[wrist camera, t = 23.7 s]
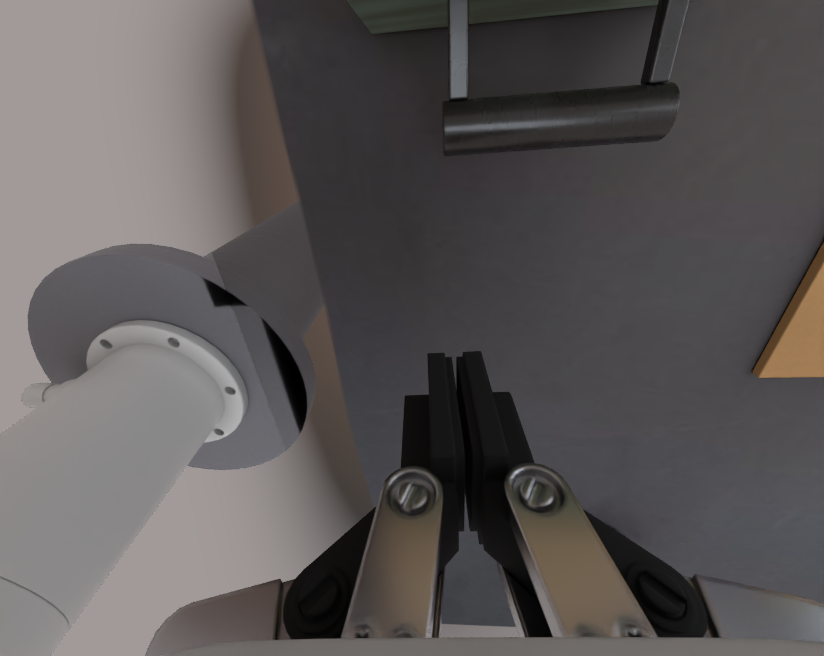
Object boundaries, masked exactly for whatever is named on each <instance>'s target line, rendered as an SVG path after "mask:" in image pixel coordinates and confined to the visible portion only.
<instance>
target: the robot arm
mask: <svg viewBox="0 0 824 656" xmlns="http://www.w3.org/2000/svg"><path fill="white" fill-rule="evenodd" d="M86 363H87V369H88V371H86V372H85V373H84V374H82V375H81V376H80V377H78V378H77V379H70V380H68V381H66V382H64V383H63V384H60V383H37V384H31V385H30V386H28V387H27V388H25V390H24V392H23V393H22V402H23V404H24V405H26V406H28V407H30V408H36V409H34V410H33V411H32V412H30V413H29V414H27V415H26V416H25V417H23V418H22V419H20V420H19V421H18V422H16V423H15V424H13V425H12V426H11V427H9V428H8V429H7V430H5V431H4V432H2V433H1V434H0V656H51V654H52V653H53V651H54V650H55V648H56V647H57V646H58V644H59V643H60V642H61V640H62V639H63V637H64V636H65V635H66V633H67V632H68V630H69V629H70V628H71V627H72V625H73V624H74V622H75V621H76V620H77V618H78V617H79V615H80V614H81V613H82V611H83V610H84V608H85V607H86V606H87V604H88V603H89V601H90V600H91V599H92V597H93V596H94V594H95V593H96V592H97V590H98V589H99V588H100V586H101V585H102V583H103V582H104V580H105V579H106V578H107V576H108V575H109V574H110V572H111V571H112V570H113V568H114V567H115V565H116V564H117V563H118V561H119V559H120V558H121V557H122V556H123V554H124V553H125V551H126V550H127V549H128V547H129V546H130V544H131V543H132V541H133V540H134V539H135V537H136V536H137V535H138V533H139V532H140V531H141V529H142V528H143V526H144V525H145V524H146V522H147V521H148V519H149V518H150V517H151V515H152V514H153V512H154V511H155V510H156V508H157V507H158V506H159V504H160V503H161V501H162V500H163V498H164V497H165V496H166V494H167V493H168V492H169V490H170V489H171V487H172V486H173V485H174V483H175V482H176V480H177V479H178V478H179V476H180V475H181V474H182V472H183V471H184V469H185V468H186V467H187V465H188V464H189V462H190V461H191V460H192V458H193V457H194V455H195V454H196V453H197V451H198V450H199V448H200V447H201V446H202V444H203V443H204V442H211V441H216V440H219V439H222V438H224V437H226V436H228V435H229V434H231V433H232V432H233V431H234V430H236V428H237V427H238V425H239V424H240V423H241V421H242V420H243V418H244V416H245V414H246V412H247V407H248V393H247V389H246V386H245V384H244V381H243V379H242V377H241V375H240V374H239V372H238V370H237V369H236V368H235V366H234V365H233V364H232V363H231V362H230V360H229V359H228V358H227V357H226V356H225V355H224V354H223V353H221V352H220V351H219V350H218V349H217V348H216V347H215V346H213V345H212V344H210V343H209V342H207V341H206V340H204V339H203V338H201V337H199V336H197V335H195V334H193V333H191V332H189V331H187V330H185V329H182V328H180V327H177V326H174V325H171V324H167V323H162V322H158V321H150V320H134V321H126V322H122V323H120V324H117V325H114V326H112V327H111V328H109V329H108V330H106V331H104V332H103V333H101V334H100V335H98V336H97V337H96V338H95V339H94V340H93V341H92V343H91V345H90V347H89V349H88V352H87V360H86ZM456 365H457V392H456V385H455V378H454V371H453V364H452V357H445V353H429V354H428V379H429V395H409V396H405V402H404V420H403V438H402V457H401V469H398V470H396V471H395V472H393V473H392V474H391V475H390V476H389V477H388V478H387V479H386V480H385V482H384V484H383V486H382V489H381V492H380V496H379V499H378V503H377V506H376V507H375V508H374V509H373V510H372V511H370V512H369V513H368V514H367V515H366V516H365V517H363V518H362V519H361V520H360V521H359V522H358V523H357V524H356V525H354V526H353V527H352V528H351V529H350V530H349V531H348V532H346V533H345V534H344V535H343V536H342V537H341V538H340V539H339V540H337V541H336V542H335V543H334V544H333V545H332V546H330V547H329V548H328V549H327V550H326V551H325V552H324V553H322V554H321V555H320V556H319V557H318V558H317V559H316V560H315V561H313V562H312V563H311V564H310V565H309V566H308V567H306V568H305V569H304V570H303V571H302V572H301V573H300V574H299V575H298V577H297V578H296V579H293V580H290V581H286V582H283V583H282V581H281V579H277V580H273V581H270V582H266V583H263V584H259V585H255V586H251V587H248V588H244V589H241V590H237V591H233V592H229V593H226V594H223V595H219V596H215V597H211V598H208V599H204V600H200V601H197V602H193V603H190V604H188V605H186V606H184V607H182V608H179V609H178V610H177V611H176V612H175V613H173V614H172V615H171V616H170V617H168V618H167V619H166V620H165V622H164V623H163V624H162V625H161V627H160V628H159V629H158V630H157V632H156V633H155V635H154V637H153V639H152V641H151V643H150V645H149V647H148V650H147V652H146V655H145V656H824V605H822V604H820V603H817V602H814V601H811V600H809V599H806V598H803V597H798V596H794V595H789V594H785V593H780V592H775V591H771V590H766V589H762V588H757V587H753V586H748V585H744V584H739V583H734V582H730V581H725V580H721V579H716V578H712V577H707V576H702V575H698V574H695V575H694V576H693V578H689V577H685V576H682V575H681V574H680V573H678V572H677V571H676V570H675V569H673V568H672V567H671V566H669V565H668V564H666V563H665V562H663V561H662V560H660V559H659V558H657V557H655V556H654V555H652V554H651V553H649V552H648V551H646V550H645V549H643V548H642V547H640V546H639V545H637V544H635V543H634V542H632V541H631V540H629V539H628V538H626V537H625V536H623V535H622V534H620V533H619V532H617V531H616V530H614V529H612V528H611V527H609V526H608V525H606V524H605V523H603V522H602V521H600V520H599V519H597V518H596V517H594V516H592V515H591V514H589V513H588V512H586V511H585V510H583V509H582V508H581V506H580V504H579V503H578V501H577V499H576V497H575V496H574V494H573V492H572V491H571V489H570V487H569V486H568V484H567V483H566V482H565V480H564V479H563V478H562V476H560V475H559V474H558V473H557V472H555V471H554V470H553V469H550V468H548V467H546V466H544V465H541V464H536V463H534V460H533V457H532V454H531V451H530V448H529V445H528V443H527V440H526V437H525V434H524V431H523V428H522V425H521V422H520V419H519V416H518V414H517V411H516V408H515V405H514V402H513V399H512V396H511V394H510V393H509V392H492V389H491V386H490V382H489V379H488V375H487V371H486V368H485V364H484V361H483V357H482V353H481V351H475V352H463V357H457V361H456ZM465 496H466V504H467V512H468V520H469V528H470V531H477V532H478V539H479V544H483V546H484V550H485V551H486V552H487V553H488V554H489V555H490V556H491V557H493V558H494V559H495V560H496V561H497V567H498V572H499V575H500V578H501V581H502V584H503V587H504V590H505V594H506V597H507V600H508V603H509V606H510V609H511V613H512V616H513V619H514V622H515V625H516V628H517V631H518V635H519V638H518V637H515V638H514V637H509V638H505V637H504V638H440V635H441V622H442V609H443V596H444V583H445V566H446V565H447V563H448V562H449V561H450V560H451V559H452V557H453V556H454V555H455V554H456V553H457V552H458V550H459V531H464V503H465Z"/></svg>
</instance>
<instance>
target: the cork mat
mask: <svg viewBox="0 0 824 656" xmlns="http://www.w3.org/2000/svg"><path fill="white" fill-rule="evenodd" d="M752 373H753V374H755V375H756V376H757V377H759V378H773V377H824V242H823V244H822V246H821V247H820V249H819V251H818V253H817V255H816V257H815V258H814V260H813V262H812V264H811V266H810V268H809V269H808V271H807V273H806V275H805V277H804V278H803V280H802V282H801V284H800V286H799V288H798V289H797V291H796V293H795V295H794V297H793V298H792V300H791V302H790V304H789V306H788V308H787V309H786V311H785V313H784V315H783V317H782V319H781V320H780V322H779V324H778V326H777V328H776V329H775V331H774V333H773V335H772V337H771V339H770V340H769V342H768V344H767V346H766V348H765V349H764V351H763V353H762V355H761V357H760V359H759V360H758V362H757V364H756V366H755V368H754V370H753V371H752Z"/></svg>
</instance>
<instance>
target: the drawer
mask: <svg viewBox="0 0 824 656" xmlns="http://www.w3.org/2000/svg"><path fill="white" fill-rule="evenodd" d="M346 1H347V2H348V4H349V5H350V6H351V8H352V9H353V10H354V11H355V13H356V14H357V15H358V17H359V18H360V19H361V21H362V22H363V23H364V25H365V26H366V27H367V29H368V30H369V31H370V33H371V34H379V33H388V32H398V31H408V30H417V29H427V28H437V27H447V26H448V99H449V101H444V102H443V104H442V116H443V154H444V156H454V155H468V154H482V153H497V152H511V151H525V150H539V149H553V148H567V147H581V146H595V145H610V144H624V143H638V142H652V141H658V140H660V139H662V138H663V137H665V136H666V134H667V133H668V132H669V131H670V129H671V127H672V125H673V123H674V121H675V119H676V116H677V113H678V109H679V102H680V93H679V89H678V87H677V85H676V84H675V83H672V82H667V81H669V79H670V75H671V71H672V68H673V64H674V60H675V56H676V52H677V48H678V44H679V40H680V36H681V32H682V28H683V24H684V21H685V17H686V13H687V9H688V5H689V1H696V0H346ZM651 5H658V6H657V11H656V15H655V20H654V24H653V29H652V33H651V38H650V42H649V47H648V51H647V56H646V60H645V65H644V70H643V74H642V79H641V84H642V85H631V86H619V87H608V88H596V89H584V90H572V91H560V92H548V93H536V94H525V95H513V96H501V97H489V98H477V99H467V98H468V53H469V24H476V23H485V22H495V21H505V20H515V19H524V18H534V17H544V16H553V15H563V14H573V13H583V12H592V11H602V10H612V9H621V8H631V7H641V6H651ZM664 82H667V83H664Z"/></svg>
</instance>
